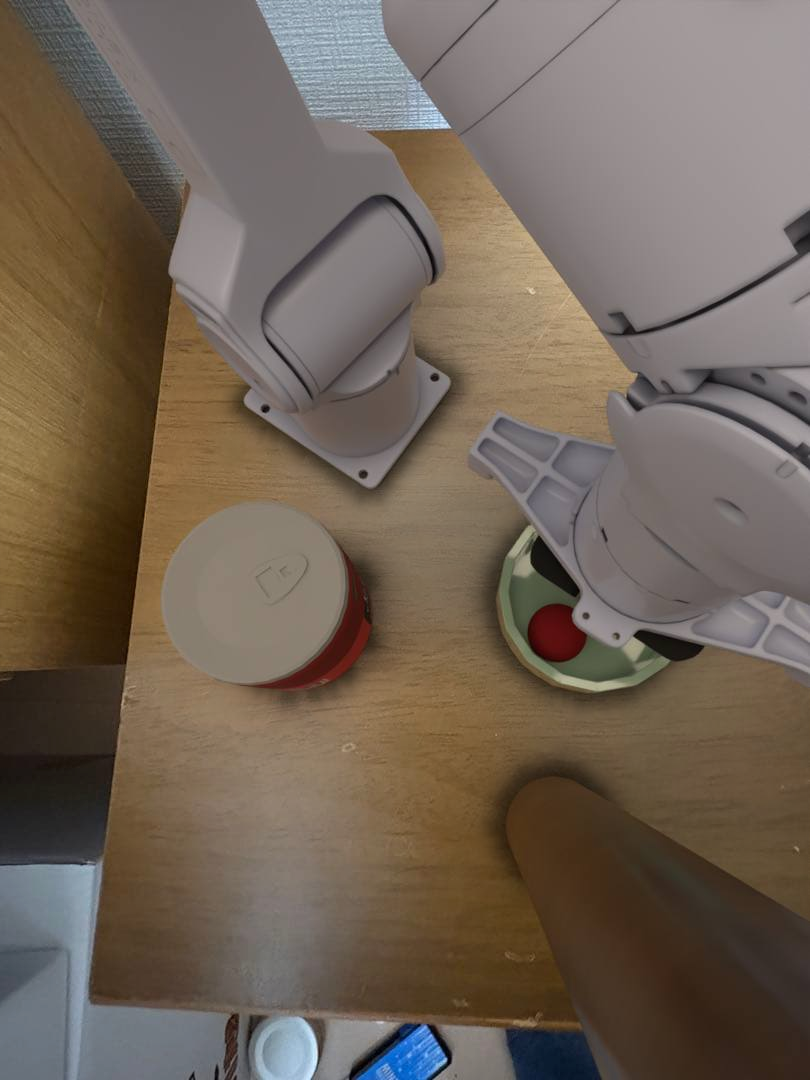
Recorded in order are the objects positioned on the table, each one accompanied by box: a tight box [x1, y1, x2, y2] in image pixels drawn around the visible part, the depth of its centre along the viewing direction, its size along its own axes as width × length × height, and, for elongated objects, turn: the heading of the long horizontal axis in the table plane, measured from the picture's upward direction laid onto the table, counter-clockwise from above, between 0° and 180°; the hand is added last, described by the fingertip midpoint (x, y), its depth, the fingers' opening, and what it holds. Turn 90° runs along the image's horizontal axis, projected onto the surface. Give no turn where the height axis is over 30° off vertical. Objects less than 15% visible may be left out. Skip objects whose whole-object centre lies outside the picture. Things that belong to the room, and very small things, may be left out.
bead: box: [527, 603, 587, 663], centre depth 40 cm, size 3×3×3 cm
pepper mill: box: [505, 775, 810, 1080], centre depth 21 cm, size 5×5×40 cm
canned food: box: [160, 500, 373, 692], centre depth 38 cm, size 8×8×11 cm
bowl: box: [495, 524, 671, 694], centre depth 41 cm, size 9×9×4 cm
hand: (607, 582), depth 36 cm, fingers closed
